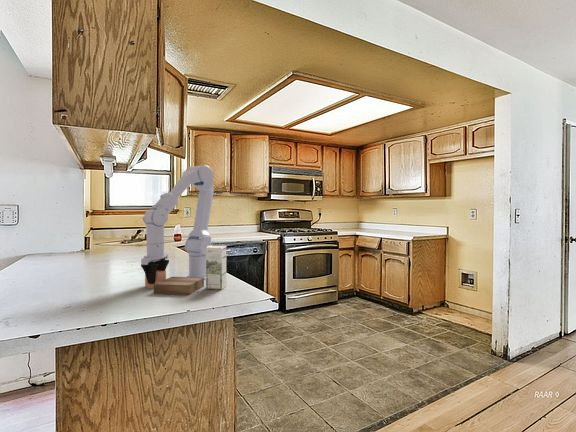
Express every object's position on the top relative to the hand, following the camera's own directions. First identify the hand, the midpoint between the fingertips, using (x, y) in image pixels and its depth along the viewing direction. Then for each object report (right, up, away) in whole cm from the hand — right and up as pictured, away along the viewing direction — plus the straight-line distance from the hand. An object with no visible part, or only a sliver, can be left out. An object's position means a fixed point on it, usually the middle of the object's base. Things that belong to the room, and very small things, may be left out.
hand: (155, 281), depth 117 cm
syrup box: (+22, -2, -3) cm, 22 cm away
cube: (0, -2, 0) cm, 2 cm away
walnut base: (+10, -2, -5) cm, 12 cm away
